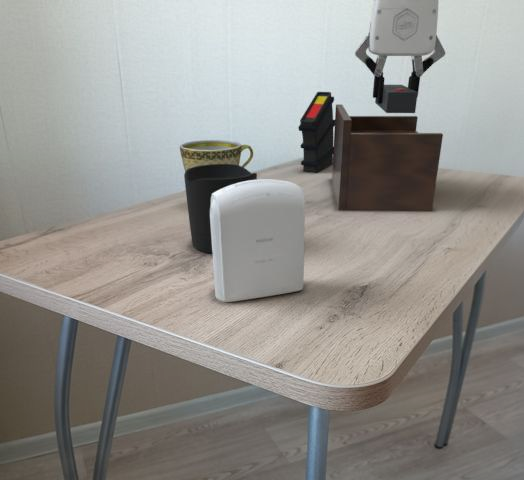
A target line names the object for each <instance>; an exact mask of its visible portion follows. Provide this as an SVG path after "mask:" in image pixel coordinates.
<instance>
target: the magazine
mask: <svg viewBox="0 0 524 480" xmlns="http://www.w3.org/2000/svg"><path fill="white" fill-rule="evenodd" d="M334 102H335V96H332V92H331V91H317V92H316V93H315V95H314V96H313V98H312V100H311V102H310V104H309V105H308V107H307V108H306V110H305V111H304V113H303V114H302V116H301V118H300V119H299V122H300V123H299V125H298V126H297V127H298V128H297V129H298V131H299V132H301V135H302V143H301V144H300V149H303V151H302V152H303V160H302V161H300V166H303V167H302V169H303V173H311V174H313V173H314V174H317V173H319V172H321V171H322V170H324V169H326V168H328V167H330V166H332V165H333V149H334V128H335V119H334V109H333V103H334Z"/></svg>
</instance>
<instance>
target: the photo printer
mask: <svg viewBox="0 0 524 480" xmlns="http://www.w3.org/2000/svg"><path fill="white" fill-rule="evenodd" d="M210 225H211V239H212V254H211V255H212V267H213V281H214V294H215V298H216V299H217V300H218V301H220V302H222V303H223V302H224V303H233V302H240V301H247V300H253V299H260V298H266V297H272V296H277V295H278V296H279V295H284V294H289V293H294V292H299V291H302V290H303V288H304V282H305V281H304V280H305V232H306V231H305V228H306V227H305V225H306V201H305V195H304V191H303V188H302V187H301V186H299V185H298V184H296V183H293V182H290V181H286V180H281V179H274V178H273V179H272V178H271V179H270V178H261V179H260V178H259V179H258V178H257V180H249V181H243V182H239V183H236V184H232V185H229V186H227V187H224V188H222V189H220V190H218V191H216V192H214V193H212V196H211V207H210Z"/></svg>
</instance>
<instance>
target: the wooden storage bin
mask: <svg viewBox="0 0 524 480" xmlns="http://www.w3.org/2000/svg"><path fill="white" fill-rule="evenodd" d="M334 120H335V126H334V130H333V136H334V137H333V147H334V149H333V163H332V169H331V171H332V172H331V182H332V187H333V193H334V197H335V201H336V202H335V203H336V206H337V211H341V212H342V211H343V212H345V211H348V212H349V211H351V212H354V211H355V212H432V211H433V206H434V199H435V191H436V187H437V186H436V185H437V179H438V171H439V167H440V166H439V165H440V159H441V153H442V152H441V150H442V143H443V138H444V134H443V132H418V131H417V127H418V125H417V124H418V116H417V115H349V113H348V111H347V110H346V108H345V107H344V105H343V104H341V103H340V104H335V115H334Z"/></svg>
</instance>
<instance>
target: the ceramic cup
mask: <svg viewBox="0 0 524 480" xmlns="http://www.w3.org/2000/svg"><path fill="white" fill-rule="evenodd" d="M246 149H248V150H249V152H250V155H249V157H248V159H247V160H246V161H245V162H244V163H243V164H242V165H241V166H242V167H243V168H245V169H246V167H247V166H248V165H249V164H250V162H251V161H252V159H253V157H254V150H253V148H252V146H250V145H248V144H242V143H241V142H238V141H234V140H227V139H202V140H191V141H187V142H184V143H181V144H179V153H180V157H181V161H182V166H183V169H184V173H185V172H186V170H187V169H189V168H192V167H196V166H202V165H211V164H234V165H239V166H240V163H241V156H242V152H243V151H244V150H246Z"/></svg>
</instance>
